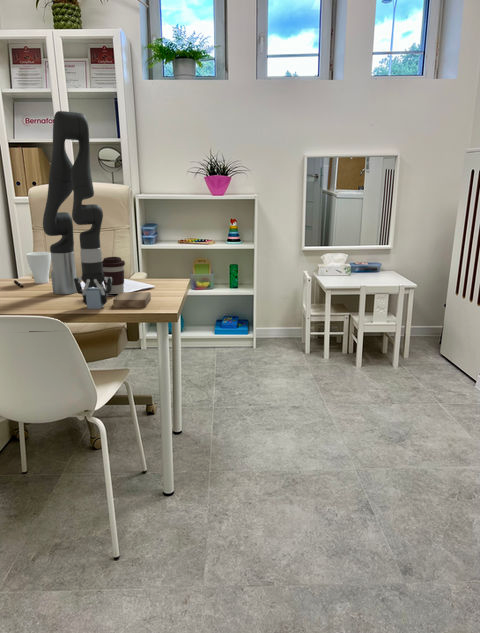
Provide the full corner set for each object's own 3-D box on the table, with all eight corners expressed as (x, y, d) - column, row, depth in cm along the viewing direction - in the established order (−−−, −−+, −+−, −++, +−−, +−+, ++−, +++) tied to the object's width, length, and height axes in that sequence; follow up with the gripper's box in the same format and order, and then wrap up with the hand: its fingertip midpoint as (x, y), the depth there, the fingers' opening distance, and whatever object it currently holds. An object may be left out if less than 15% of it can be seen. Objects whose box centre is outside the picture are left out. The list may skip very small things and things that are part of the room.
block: (87, 308, 179) (85, 290, 177) (91, 305, 184) (89, 287, 182) (100, 308, 179) (99, 290, 177) (104, 305, 184) (102, 287, 182)
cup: (45, 279, 230) (42, 251, 226) (58, 281, 224) (55, 253, 220) (25, 282, 222) (21, 253, 218) (38, 285, 216) (34, 256, 212)
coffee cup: (105, 297, 196) (102, 260, 192) (100, 292, 204) (97, 257, 200) (129, 294, 200) (127, 258, 196) (123, 289, 209) (121, 255, 205)
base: (113, 307, 180) (113, 299, 180) (120, 299, 192) (120, 292, 191) (145, 307, 181) (145, 299, 180) (150, 299, 192) (150, 292, 191)
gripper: (68, 262, 173) (73, 307, 177) (108, 261, 173) (112, 307, 178) (75, 258, 180) (79, 302, 185) (113, 258, 180) (116, 301, 185)
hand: (95, 304), depth 181 cm, fingers open, 5 cm apart
